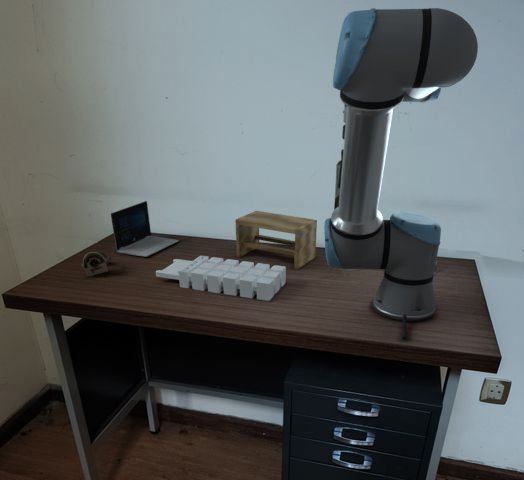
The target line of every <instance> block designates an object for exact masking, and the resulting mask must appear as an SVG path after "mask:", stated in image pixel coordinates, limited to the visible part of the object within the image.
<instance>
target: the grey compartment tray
mask: <svg viewBox="0 0 524 480" xmlns="http://www.w3.org/2000/svg"><path fill="white" fill-rule="evenodd" d="M286 273H287V266H284V265H278V264H277V265H276V264H275V265H273V266H272V267H271V265H270V264H269V263H261V262H258V263H256V264H255V262H253V261H246V260H242V261H241V262H240V261H239V260H238V259H229V258H227V259H225V260H224V258H222V257H215V256H212V257H210V256H207V255H199V256H198V257H196V258H195V259H194V260H187V259H179V258H174V259H173V260H172V263H171V264H170V265H168V266H166V267H165V268H163V269H157V270H156V271H155V276H156V277H157V278H163V279H171V280H177V281H178V282H179V288H183V289H190V288H192V289H191V290H196V291H203V292H205V290H207V292H208V293H209V292H210V293H215V294H221V293H222V292H223V295H228V296H237V295H238V294H239V297H242V298H247V299H254V297H255V296H256V300H260V301H266V302H267V301H268V302H270V301H271V300H272V299H273V298H274V296H275V295H276V294H277V293H278V292H279V291H280V290H281V288H282V287H284V285H285V284H286V282H287V281H286V280H287V274H286Z"/></svg>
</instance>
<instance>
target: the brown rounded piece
mask: <svg viewBox="0 0 524 480" xmlns="http://www.w3.org/2000/svg"><path fill="white" fill-rule="evenodd" d="M112 259H113V258H112V256H111V255H107V254H105V253H104V252H103V251H99V250H94V251H89V252H87V253H86V254H85V255H84V256H83V259H82V263H81V264H80V265H81V268H82V269H84V271H85V273H86V276H87V277H91V276H92V277H93V276H95V275H100V274H102V273H107V272H109V269H108V267H109V261H111V260H112Z"/></svg>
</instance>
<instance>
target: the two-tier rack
mask: <svg viewBox="0 0 524 480" xmlns="http://www.w3.org/2000/svg"><path fill="white" fill-rule="evenodd" d="M234 221H235V244H236V245H235V246H236V247H235V248H236V258H237V257H238V258H241V257H244V256H245V255H246V254H248V253H250V252H252V251H254V250H261V251H266V252H271V253H276V254H281V255H287V256H292V257H294V263H293V265H294V266H293V267H294V268H293V269H295V270H299V269H300V268H302V267H303V266H305V265H306V264H308V263H309V262H310V261H312V260H314V259H315V258H316V251H317V228H318V219H312V218H306V217H300V216H295V215H286V214H279V213H275V212H267V211H261V210H254V211H252V212H249V213H247V214H245V215H243V216H240V217H237V218H236V219H235V220H234ZM260 229H263V230H267V231H275V232H279V233H286V234H291V235H294V240H290V239H286V238H279V237H275V236H274V237H273V236H269V235H264V234H260ZM260 241H264V242H268V243H275V244H280V245H285V246H289V247H290V246H291V247H294V249H289V248H283V247H278V246H272V245H268V244H262V243H260Z"/></svg>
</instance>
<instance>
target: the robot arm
mask: <svg viewBox="0 0 524 480" xmlns="http://www.w3.org/2000/svg"><path fill="white" fill-rule="evenodd" d="M477 39H478V38H477V35H476V33H475V30H474V29H473V27H472V25H470V24H469V22H468V21H467V20H466V19H465V18H463V16H461V15H460V14H458V13H456V12H454V11H451V10H449V9H445V8H441V7H440V8H439V7H429V8H391V9H390V8H388V9H387V8H382V9H381V8H380V9H379V8H378V9H376V8H375V7H373V8H370V9H362V10H353V11H351V12H349V13H347V15H346V16H345V17H344V19H343V22H342V25H341V29H340V33H339V38H338V43H337V49H336V55H335V63H334V68H333V74H332V75H333V77H332V87H333V88H334V89H336V90H337V91H339V100H340V101H341V103H343V104H344V106H343V110H342V113H343V121H342V122H343V123H344V124H343V126H342V134H341V138H342V140H343V141H344V142H343V148H342V149H341V151H340V161H341V165H340V173H339V182H338V188H340V198H339V207H337V208H336V209H335V210H334V209H333V211H332V213H331V217H328V218H326V219H325V220H324V226H323V227H324V228H323V229H324V233H323V234H324V250H325V251H324V252H325V259H326V263H327V265H328V266H329V267H331V268H332V269H333V268H334V269H342V270H381V271H382V270H384V272H383V277H382V280H381V282H380V283H379V286H378V288H377V290H376V292H375V295H374V297H373V301H372V308H373V310H374V311H375V312H376V313H377V314H379V315H381V316H382V317H385V318H387V319H390V320H395V321H399V322H402V331H401V332H402V341H406V340H408V339H407V337H408V336H407V333H408V332H407V322H421V321H425V320H429V319H431V318H432V317H433V316H434V315H435V314H436V309H437V301H436V294H435V289H434V284H433V281H434V276H435V270H436V266H437V264H436V262H437V259H438V254H439V247H440V245H441V235H442V226H441V224H440V223H439V222H438V221H437V220H436V219H434V218H432V217H430V216H428V215H424V214H422V213H421V214H420V213H416V212H412V211H395V212H392V213H391V215H390V217H389V219H384V217H383V214H382V213H381V211H380V210H379V209H378V208H379V202H380V196H381V191H382V190H381V189H382V183H383V177H384V171H385V165H386V158H387V152H388V145H389V138H390V131H391V125H392V119H393V114H394V109H395V108H397V107H398V106H400V105H401V104H402V102H403V103H427V102H428V103H429V102H436V101H437V100H438V98H439V96H440V94H441V90H442V89H444V88H449V87H451V86H454V85H456V84H458V83H460V81H462V80H463V79H464V78H465V77H467V76H468V75H469V74H470V72H471V70H472V69H473V67H474V66H475V63H476V61H477V57H478V51H479V49H478V48H479V44H478V40H477ZM435 265H436V266H435Z"/></svg>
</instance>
